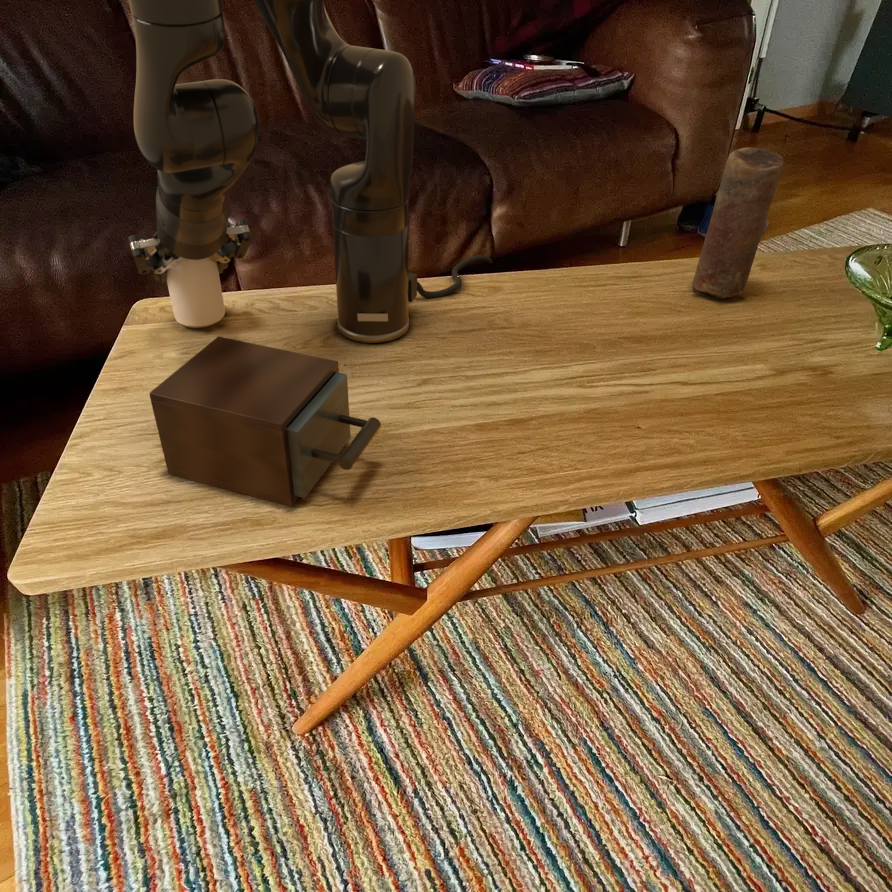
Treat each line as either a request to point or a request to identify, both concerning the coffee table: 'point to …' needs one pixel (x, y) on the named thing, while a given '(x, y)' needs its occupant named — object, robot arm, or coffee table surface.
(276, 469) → the cabinet
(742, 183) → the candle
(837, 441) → the coffee table surface
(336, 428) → the drawer
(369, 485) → the coffee table surface
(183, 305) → the can
